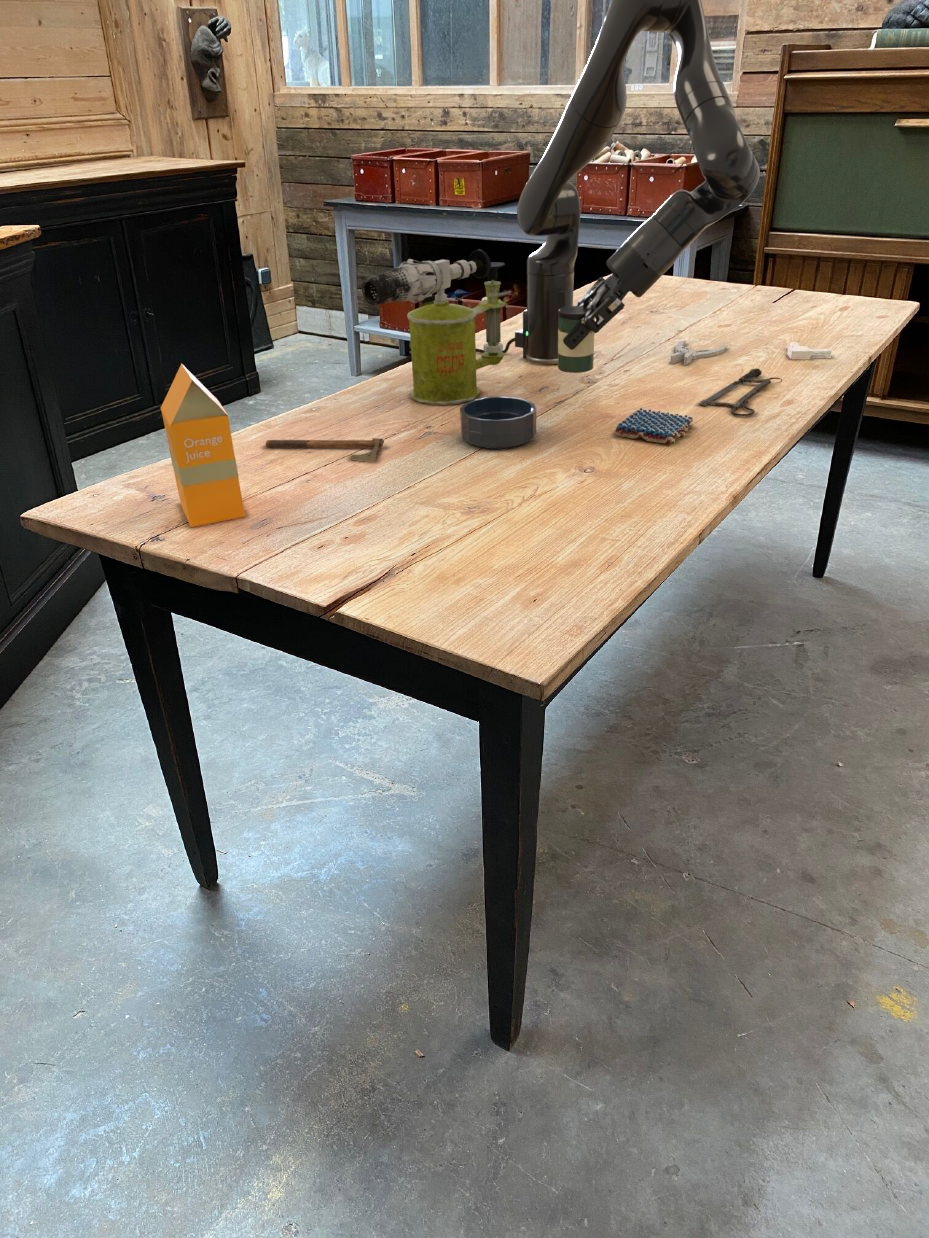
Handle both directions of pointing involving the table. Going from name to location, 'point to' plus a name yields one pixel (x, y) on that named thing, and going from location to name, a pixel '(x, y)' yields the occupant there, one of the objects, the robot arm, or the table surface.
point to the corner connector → (806, 352)
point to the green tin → (584, 352)
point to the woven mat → (654, 426)
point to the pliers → (688, 355)
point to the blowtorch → (443, 324)
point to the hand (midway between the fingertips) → (565, 340)
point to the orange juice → (201, 452)
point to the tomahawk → (367, 457)
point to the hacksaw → (745, 398)
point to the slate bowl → (498, 422)
